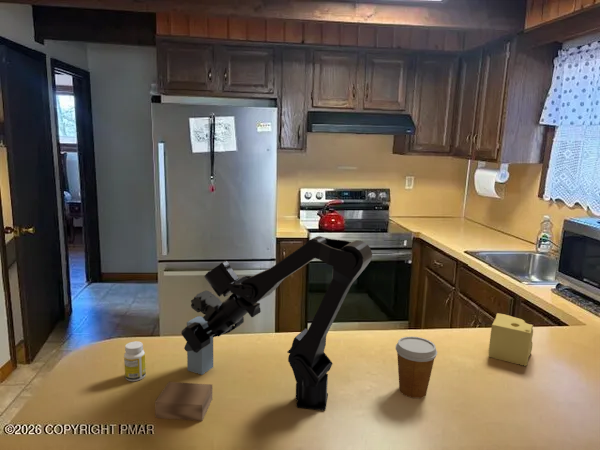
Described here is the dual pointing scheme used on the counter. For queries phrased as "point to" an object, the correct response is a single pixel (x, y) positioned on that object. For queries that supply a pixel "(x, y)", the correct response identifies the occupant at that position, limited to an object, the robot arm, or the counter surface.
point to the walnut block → (184, 401)
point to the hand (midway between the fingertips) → (195, 343)
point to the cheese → (510, 339)
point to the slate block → (200, 353)
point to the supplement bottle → (134, 361)
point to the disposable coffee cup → (415, 365)
